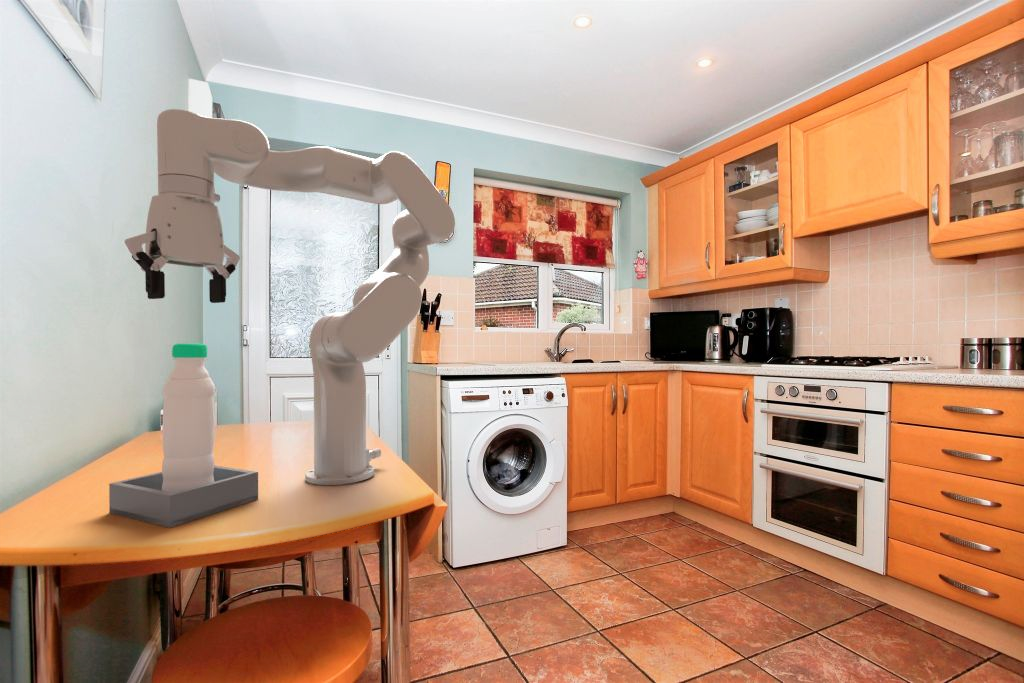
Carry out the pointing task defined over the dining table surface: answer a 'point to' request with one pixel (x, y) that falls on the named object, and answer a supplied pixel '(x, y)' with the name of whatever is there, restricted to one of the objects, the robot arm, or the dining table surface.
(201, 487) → the tray
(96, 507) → the dining table surface
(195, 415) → the water bottle
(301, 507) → the dining table surface
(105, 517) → the dining table surface
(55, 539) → the dining table surface
